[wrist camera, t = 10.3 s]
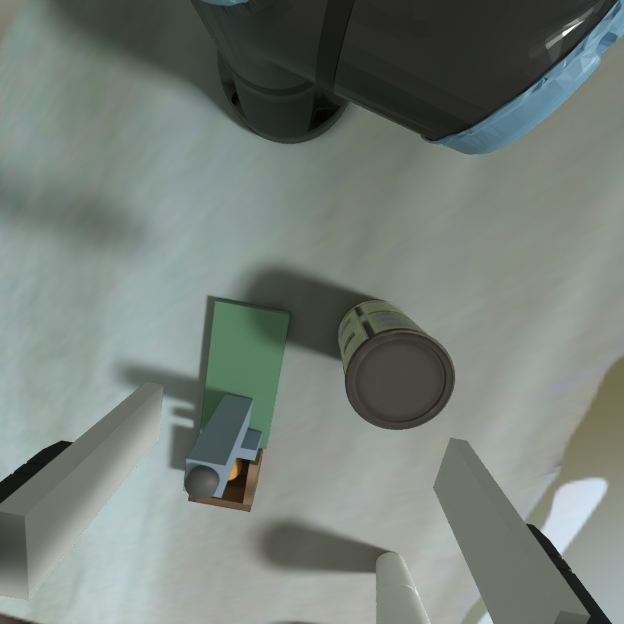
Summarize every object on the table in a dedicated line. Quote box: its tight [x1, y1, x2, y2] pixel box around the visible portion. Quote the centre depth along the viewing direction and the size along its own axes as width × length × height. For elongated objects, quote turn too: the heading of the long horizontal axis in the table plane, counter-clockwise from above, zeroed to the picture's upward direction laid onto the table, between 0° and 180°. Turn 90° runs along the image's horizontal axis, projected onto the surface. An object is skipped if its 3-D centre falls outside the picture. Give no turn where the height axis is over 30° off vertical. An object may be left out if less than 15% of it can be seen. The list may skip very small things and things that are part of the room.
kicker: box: [183, 394, 262, 500], centre depth 38 cm, size 7×8×14 cm
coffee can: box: [338, 300, 455, 430], centre depth 36 cm, size 10×10×14 cm
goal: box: [188, 448, 263, 512], centre depth 46 cm, size 8×9×5 cm
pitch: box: [200, 299, 291, 449], centre depth 44 cm, size 21×10×2 cm, turn 169°
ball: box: [228, 458, 243, 480], centre depth 46 cm, size 4×4×4 cm
